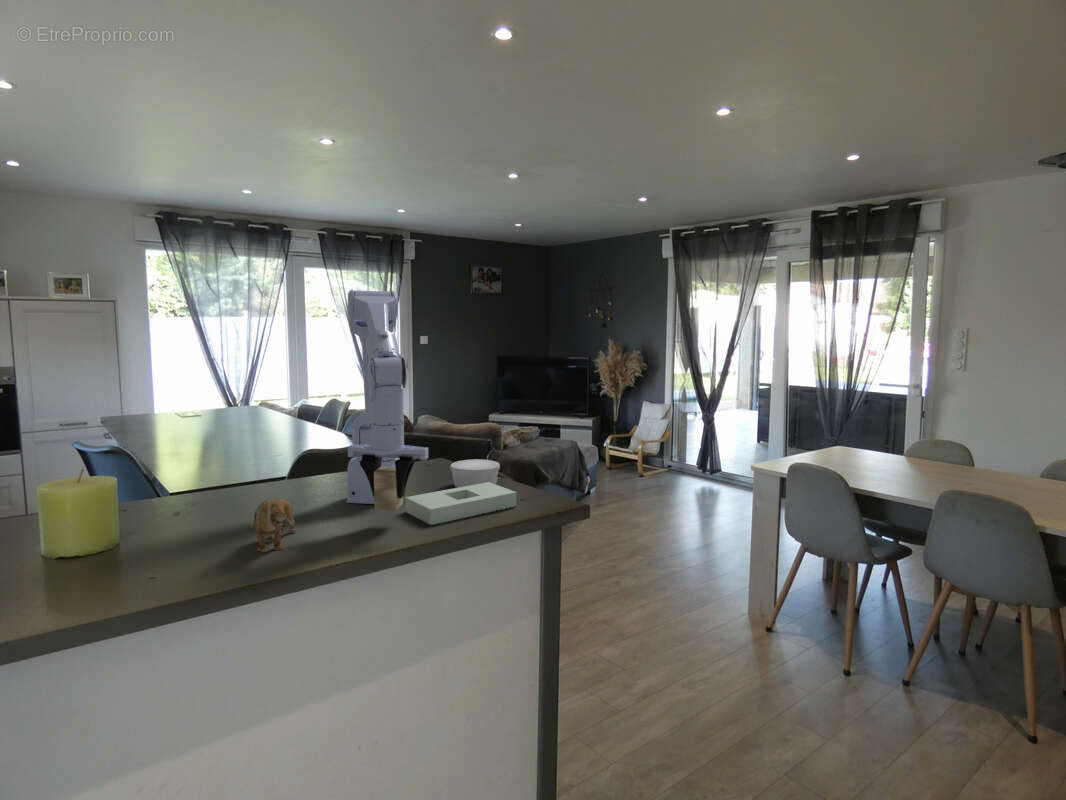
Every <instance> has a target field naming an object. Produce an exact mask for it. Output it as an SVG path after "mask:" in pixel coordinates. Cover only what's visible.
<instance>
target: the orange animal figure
mask: <svg viewBox="0 0 1066 800" xmlns="http://www.w3.org/2000/svg"><path fill="white" fill-rule="evenodd" d="M253 515H254V516H253V517H254V518H253V528H254V531H255V532H256V536H257V540H258V545H259V547H258V548H257V549H256V552H258V551H264V550H265V551H266V543H265V537H267V539H271V538H272V539H274V541H273V549H274V550H275V551H281V550H283V549H284V548H283V546H282V543H281V537H282V529H281V526H282V528H287V525H288V523H289V524H290V525H289V526H290V529H289V530H288V533H289V534H295V533H296V532H297V531H296V525H295V524H296V521H295V519H294V517H293V508H292V505H291V503H290V502H289V501H288V500H287V499H284V498H283V499H282V498H280V499H278V500H272V499H268V500H264V501H262V503H260V504H259V505H258V506H257V508H256V510H255V512H254V514H253ZM280 549H281V550H280ZM265 551H264V552H265Z"/></svg>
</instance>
